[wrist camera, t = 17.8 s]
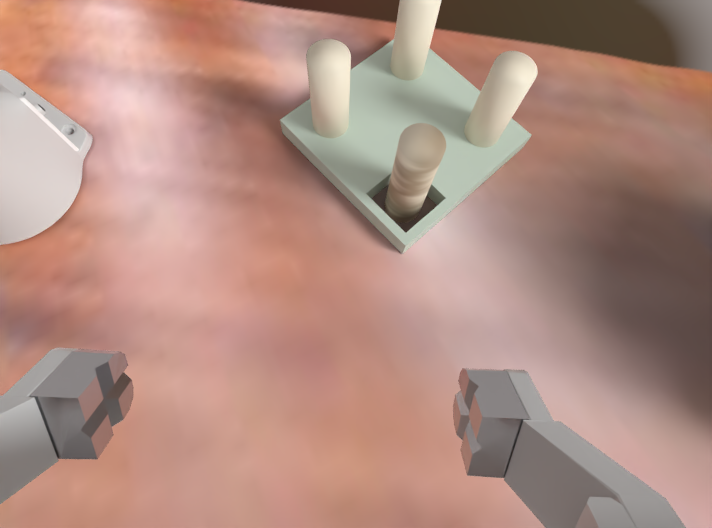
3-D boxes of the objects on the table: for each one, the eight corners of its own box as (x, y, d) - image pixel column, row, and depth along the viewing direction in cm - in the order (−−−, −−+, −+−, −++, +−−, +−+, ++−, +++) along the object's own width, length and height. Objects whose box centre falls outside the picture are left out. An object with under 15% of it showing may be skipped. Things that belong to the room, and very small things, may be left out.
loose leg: (379, 214, 46) (392, 153, 35) (392, 185, 48) (408, 116, 36) (413, 228, 46) (437, 170, 35) (425, 197, 47) (452, 132, 36)
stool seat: (282, 133, 49) (265, 52, 38) (404, 46, 54) (421, -50, 42) (402, 254, 45) (423, 203, 34) (522, 147, 50) (577, 72, 38)
